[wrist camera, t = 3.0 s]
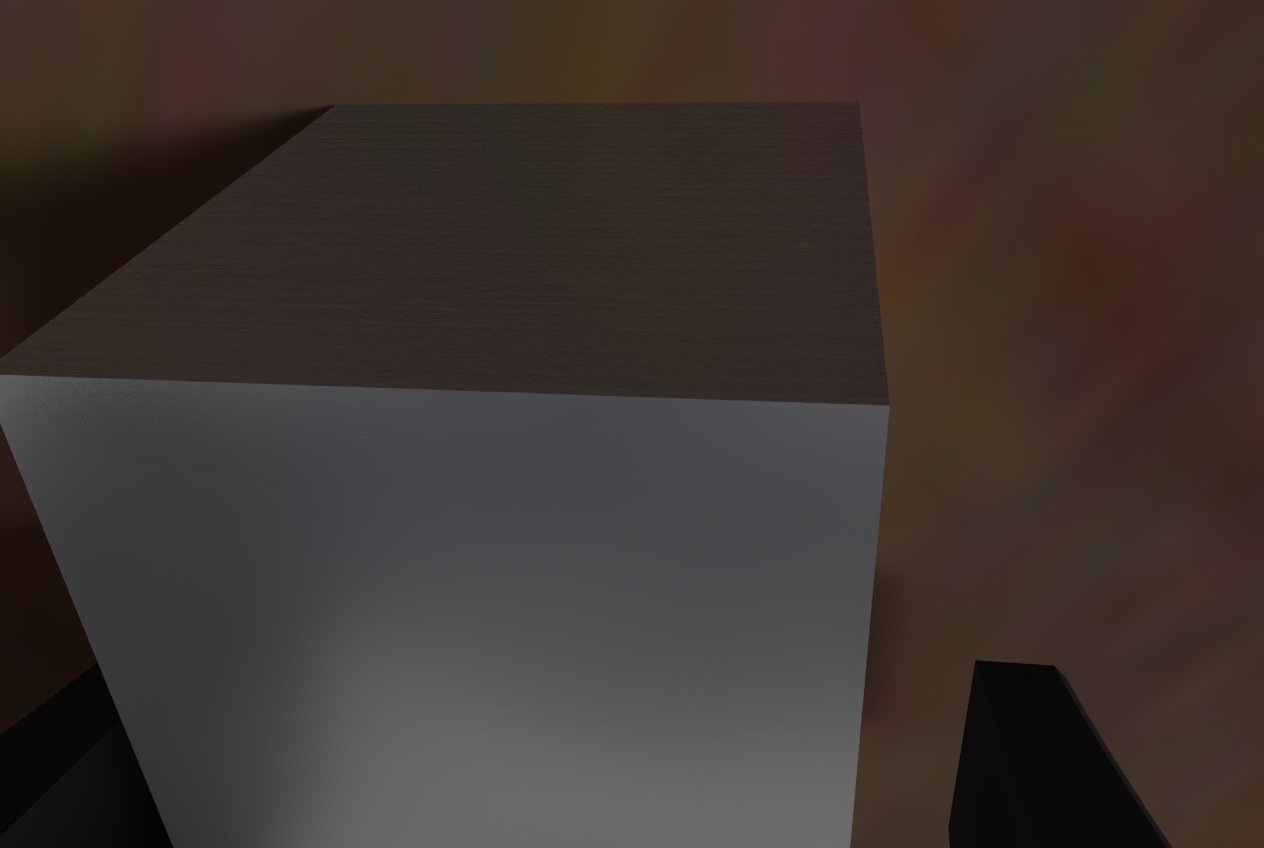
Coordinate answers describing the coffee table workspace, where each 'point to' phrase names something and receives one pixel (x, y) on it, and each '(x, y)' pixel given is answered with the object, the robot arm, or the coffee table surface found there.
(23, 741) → the robot arm
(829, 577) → the grey rectangular block
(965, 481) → the coffee table surface
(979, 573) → the coffee table surface
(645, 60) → the coffee table surface
